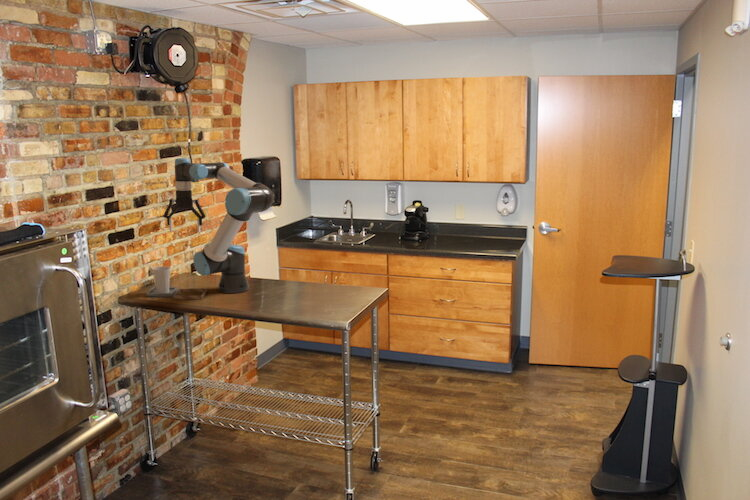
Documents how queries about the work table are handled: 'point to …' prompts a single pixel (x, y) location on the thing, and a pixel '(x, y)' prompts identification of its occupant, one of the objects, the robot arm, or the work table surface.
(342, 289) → the work table surface
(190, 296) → the holder frame
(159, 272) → the cup
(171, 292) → the tray
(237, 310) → the work table surface
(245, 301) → the work table surface
